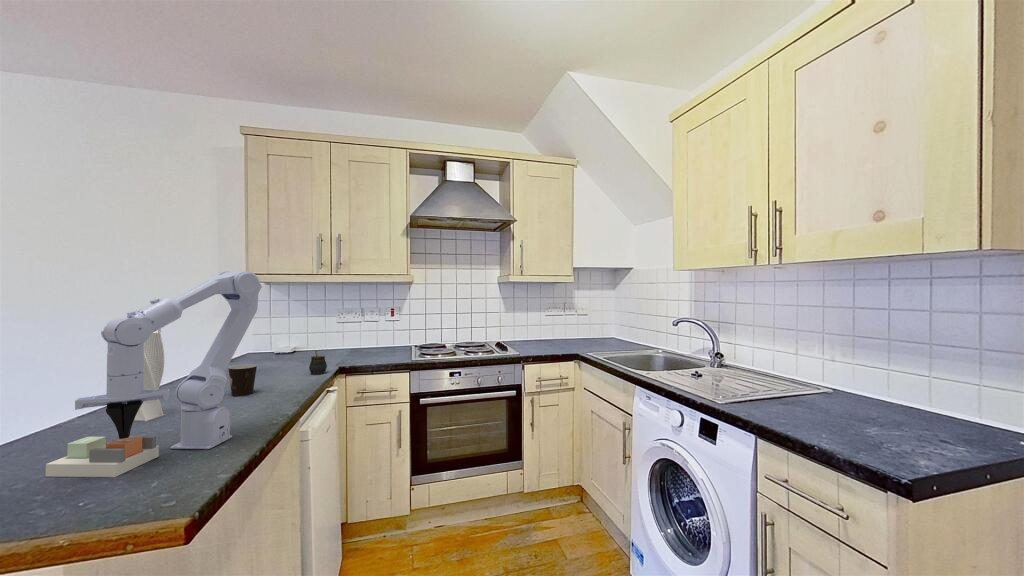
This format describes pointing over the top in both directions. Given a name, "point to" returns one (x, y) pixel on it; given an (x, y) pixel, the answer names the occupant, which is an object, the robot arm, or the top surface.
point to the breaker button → (127, 445)
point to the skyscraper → (152, 377)
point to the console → (104, 461)
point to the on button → (84, 447)
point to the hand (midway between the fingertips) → (124, 437)
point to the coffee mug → (242, 379)
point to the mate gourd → (318, 364)
